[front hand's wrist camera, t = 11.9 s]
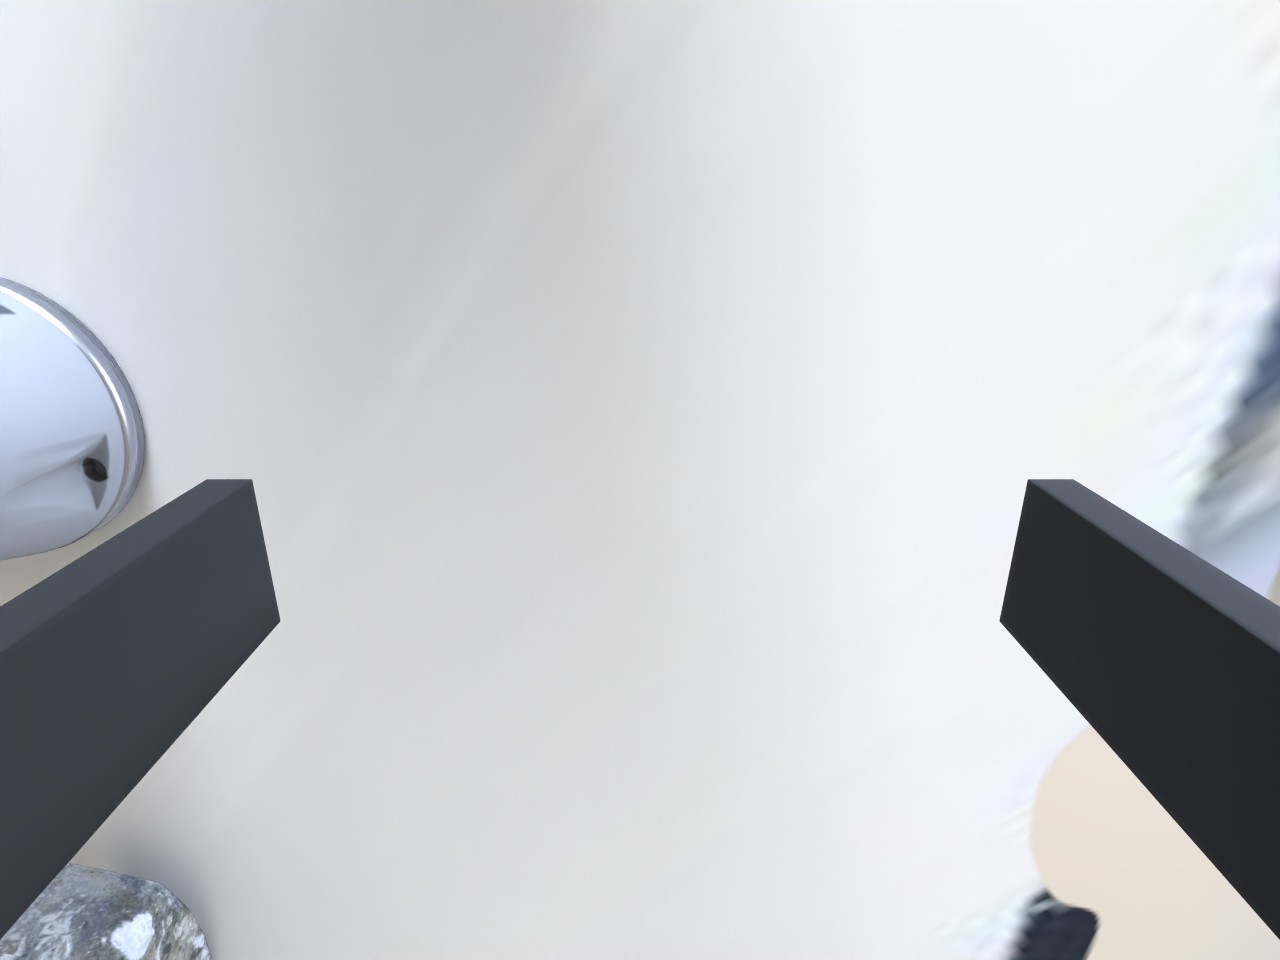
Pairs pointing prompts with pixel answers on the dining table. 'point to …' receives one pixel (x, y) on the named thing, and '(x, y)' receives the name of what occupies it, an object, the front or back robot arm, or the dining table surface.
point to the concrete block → (104, 921)
